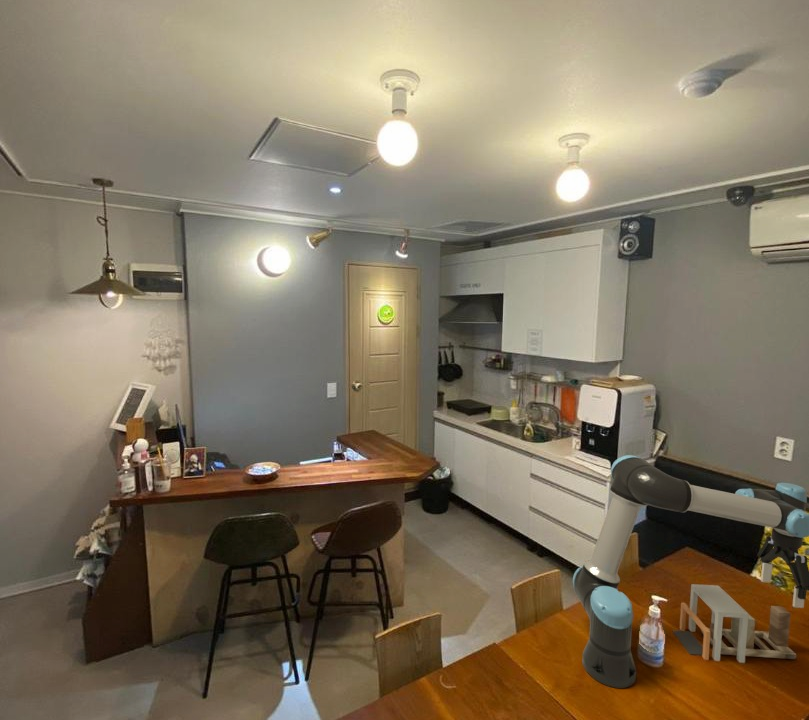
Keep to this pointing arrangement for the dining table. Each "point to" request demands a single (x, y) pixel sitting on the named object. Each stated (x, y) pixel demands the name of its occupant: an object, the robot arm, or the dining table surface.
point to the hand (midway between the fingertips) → (781, 593)
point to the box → (749, 631)
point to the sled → (774, 637)
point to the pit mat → (689, 642)
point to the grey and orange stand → (715, 618)
